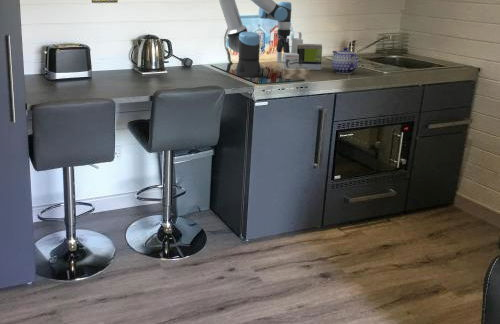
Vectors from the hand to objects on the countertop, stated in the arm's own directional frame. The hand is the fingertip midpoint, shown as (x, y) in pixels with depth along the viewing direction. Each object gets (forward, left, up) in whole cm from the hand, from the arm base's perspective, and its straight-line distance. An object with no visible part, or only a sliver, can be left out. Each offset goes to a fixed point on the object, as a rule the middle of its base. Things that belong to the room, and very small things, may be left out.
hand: (282, 64), depth 347 cm
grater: (+13, +19, -3) cm, 23 cm away
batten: (0, -29, -3) cm, 29 cm away
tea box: (+17, +1, -3) cm, 17 cm away
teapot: (+34, -14, -3) cm, 37 cm away
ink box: (0, -16, -3) cm, 16 cm away
